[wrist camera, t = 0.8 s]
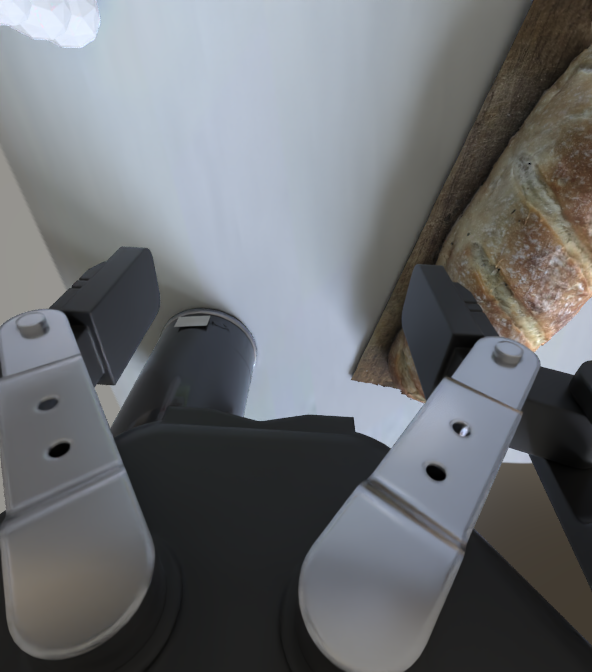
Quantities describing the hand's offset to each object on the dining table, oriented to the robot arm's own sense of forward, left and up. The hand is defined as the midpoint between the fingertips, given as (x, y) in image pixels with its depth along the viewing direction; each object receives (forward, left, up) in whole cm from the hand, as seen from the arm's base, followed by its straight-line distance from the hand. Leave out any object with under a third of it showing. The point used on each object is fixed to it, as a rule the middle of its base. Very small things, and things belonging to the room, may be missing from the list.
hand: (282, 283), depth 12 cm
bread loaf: (-4, -17, -19) cm, 26 cm away
